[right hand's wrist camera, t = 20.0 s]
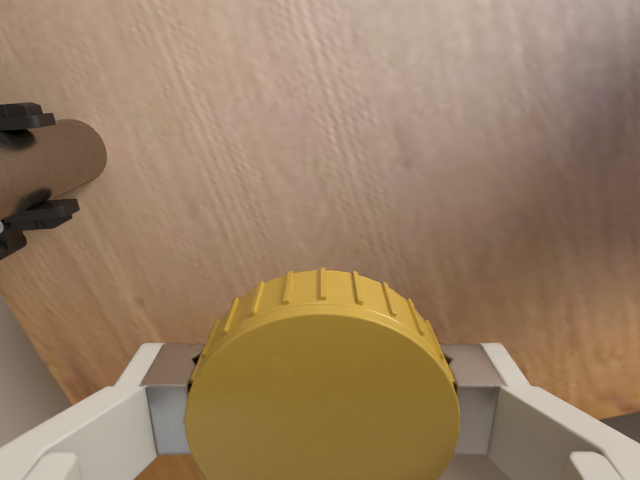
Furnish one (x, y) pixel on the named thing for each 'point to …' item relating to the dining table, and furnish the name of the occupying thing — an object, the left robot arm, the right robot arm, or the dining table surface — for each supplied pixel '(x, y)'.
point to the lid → (322, 386)
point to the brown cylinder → (46, 163)
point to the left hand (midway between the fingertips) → (58, 165)
